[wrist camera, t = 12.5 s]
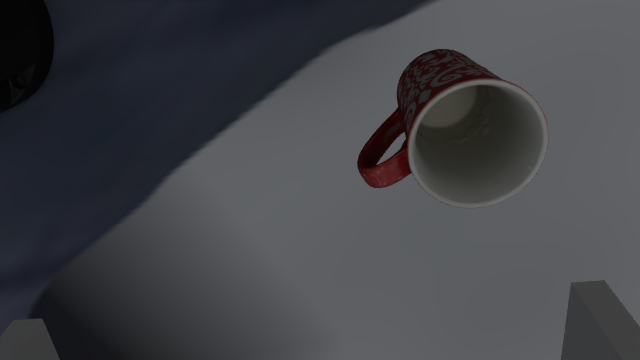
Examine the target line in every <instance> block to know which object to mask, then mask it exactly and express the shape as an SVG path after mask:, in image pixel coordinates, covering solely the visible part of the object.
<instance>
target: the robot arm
mask: <svg viewBox="0 0 640 360" xmlns="http://www.w3.org/2000/svg"><path fill="white" fill-rule="evenodd" d="M52 56H53V33H52V27H51V22H50V19H49V15H48V12H47V9H46V7H45V4H44V2H43V0H0V113H1V112H4V111H6V110H8V109H10V108H12V107H14V106H16V105H17V104H19V103H21V102H23V101H24V100H26V99H27V98H29V97H30V96H31V95H32V94H33V93H35V92H36V90H37V89H38V88H39V87H40V86H41V84H42V83H43V81H44V80H45V78H46V76H47V74H48V71H49V68H50V65H51V61H52ZM0 360H60V359H59V357H58V355H57V352H56V350H55V348H54V345H53V343H52V341H51V338H50V336H49V334H48V331H47V329H46V327H45V324H44V322H43V319H28V320H13V321H12V323H11V324H10V325H9V326H8V328H7V329H6V330H5V331H4V333H3V334H2V335H1V336H0ZM561 360H640V327H639V325H638V324H637V323H636V321H635V320H634V319H633V317H632V316H631V315H630V314H629V312H628V311H627V310H626V308H625V307H624V306H623V305H622V303H621V302H620V301H619V299H618V298H617V297H616V295H615V294H614V293H613V292H612V290H611V289H610V287H609V286H608V285H607V284H606V282H605V281H604V280H603V281H588V282H574V283H571V289H570V295H569V303H568V311H567V319H566V326H565V334H564V341H563V348H562V355H561Z"/></svg>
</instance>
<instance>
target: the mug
mask: <svg viewBox="0 0 640 360" xmlns="http://www.w3.org/2000/svg"><path fill="white" fill-rule="evenodd" d="M397 101H398V108H397V109H396V111H395V112H394V113H393V114H392V115H391V116H390V117H389V118H388V119H387V120H386V121H385V122H384V123H383V124H382V125H381V126H380V127H379V128H378V129H377V130H376V132H375V133H374V134H373V135H372V136H371V138H370V139H369V140H368V142H367V143H366V144H365V146H364V147H363V149H362V150H361V152H360V155H359V157H358V161H357V164H358V170H359V172H360V174H361V176H362V177H363V179H364V180H365V182H366V183H367V184H368V185H369V186H371V187H374V188H383V187H387V186H390V185H393V184H395V183H396V182H398V181H400V180H402V179H403V178H404V177H406V176H407V175H409V174H411V173H412V174H413V176H414V177H415V179H416V180H417V182H418V184H419V185H420V186H421V187H422V188H423V189H424V190H425V191H426V192H427V193H428V194H429V195H430V196H432V197H433V198H435V199H436V200H439V201H440V202H442V203H445V204H447V205H451V206H455V207H461V208H480V207H486V206H491V205H494V204H497V203H499V202H502V201H504V200H506V199H508V198H510V197H512V196H513V195H515V194H516V193H517V192H519V191H520V190H521V189H523V188H524V187H525V186H526V185H527V184H528V183H529V182H530V181H531V180H532V179H533V177H534V176H535V175H536V174H537V172H538V170H539V168H540V167H541V165H542V163H543V160H544V158H545V155H546V151H547V146H548V126H547V121H546V118H545V115H544V113H543V111H542V109H541V107H540V106H539V104H538V102H537V101H536V100H535V99H534V98H533V97H532V96H531V95H530V94H529V93H528V92H527V91H525V90H524V89H522V88H521V87H519V86H517V85H515V84H513V83H511V82H508V81H505V80H502V79H501V78H499V77H498V76H496V75H494V74H493V73H491V72H490V71H488V70H487V69H486V68H484V67H482V66H480V65H479V64H477V63H475V62H474V61H472V60H471V59H469V58H468V57H467V56H465V55H464V54H461V53H459V52H457V51H454V50H449V49H437V50H432V51H429V52H426V53H424V54H422V55H420V56H418V57H417V58H415V59H414V60H413V61H412V62H411V63H410V64H409V65H408V66H407V67H406V69H405V70H404V71H403V73H402V75H401V77H400V80H399V83H398V87H397ZM403 132H405V135H406V140H405V141H404V143H403V145H402V147H401V149H400V150H399V151H398V152H397V153H395V154H394V155H393V156H392V157H391V158H389V159H388V160H386V161H384V162H382V163H380V164H378V165H376V164H377V163H378V161H379V160H380V158H381V157H382V156H383V154H384V153H385V151H386V150H387V149H388V148H389V147H390V145H391V144H392V143H393V142H394V140H395V139H396V138H397V137H398V136H399V135H400V134H402V133H403Z"/></svg>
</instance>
